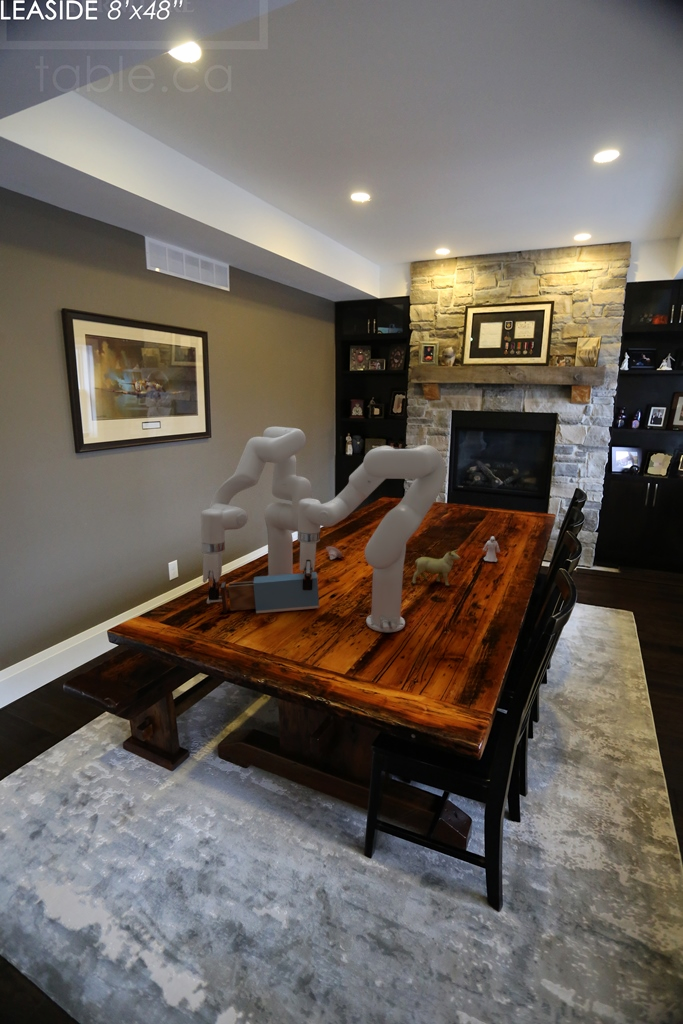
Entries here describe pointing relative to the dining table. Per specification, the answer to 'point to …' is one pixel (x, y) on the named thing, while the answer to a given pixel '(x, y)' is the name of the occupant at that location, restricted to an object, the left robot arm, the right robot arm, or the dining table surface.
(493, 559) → the figurine
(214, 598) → the left robot arm
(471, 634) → the dining table surface
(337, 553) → the white lid
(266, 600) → the blue slab
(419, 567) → the toy
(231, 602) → the drawer
